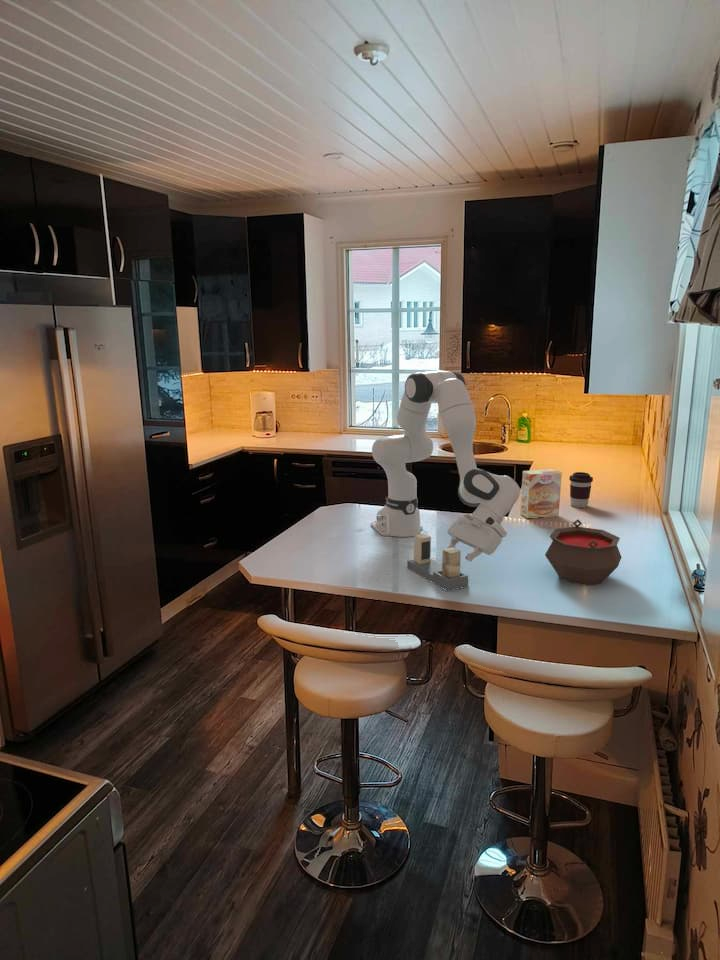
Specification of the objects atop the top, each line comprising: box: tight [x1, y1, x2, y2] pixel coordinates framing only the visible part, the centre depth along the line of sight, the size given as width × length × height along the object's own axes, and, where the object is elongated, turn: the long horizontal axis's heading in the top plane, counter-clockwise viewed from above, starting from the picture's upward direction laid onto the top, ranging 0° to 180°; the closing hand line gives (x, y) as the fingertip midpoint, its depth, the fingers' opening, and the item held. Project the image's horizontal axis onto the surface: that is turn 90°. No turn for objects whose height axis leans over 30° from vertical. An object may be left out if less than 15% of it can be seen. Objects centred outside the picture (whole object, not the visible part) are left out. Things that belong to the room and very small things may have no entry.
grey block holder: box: [406, 532, 469, 592], centre depth 206 cm, size 23×8×12 cm, turn 28°
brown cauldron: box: [544, 519, 623, 586], centre depth 205 cm, size 24×24×16 cm
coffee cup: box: [568, 471, 594, 508], centre depth 285 cm, size 10×10×15 cm
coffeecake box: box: [519, 468, 563, 519], centre depth 271 cm, size 15×7×20 cm, turn 104°
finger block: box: [441, 547, 462, 579], centre depth 200 cm, size 4×4×9 cm
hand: (458, 555), depth 201 cm, fingers open, 8 cm apart
